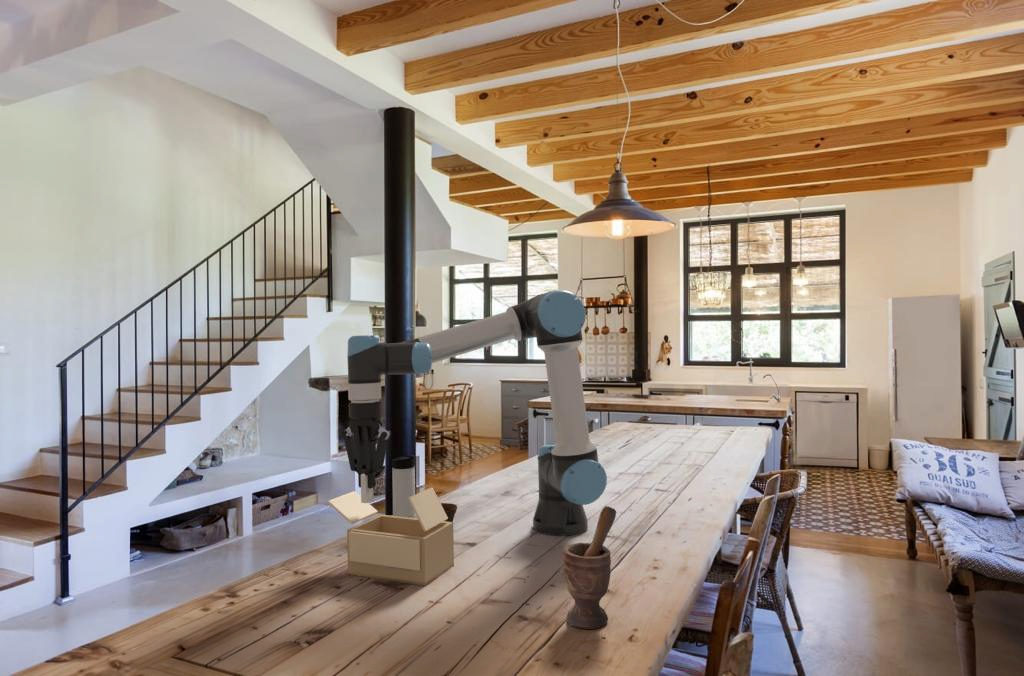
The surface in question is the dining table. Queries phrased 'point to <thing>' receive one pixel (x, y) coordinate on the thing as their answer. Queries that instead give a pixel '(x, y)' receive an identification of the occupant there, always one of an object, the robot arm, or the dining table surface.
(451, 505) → the cup
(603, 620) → the mortar and pestle
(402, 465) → the travel mug
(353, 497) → the flap far
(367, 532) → the carton
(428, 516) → the flap near
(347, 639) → the dining table surface
